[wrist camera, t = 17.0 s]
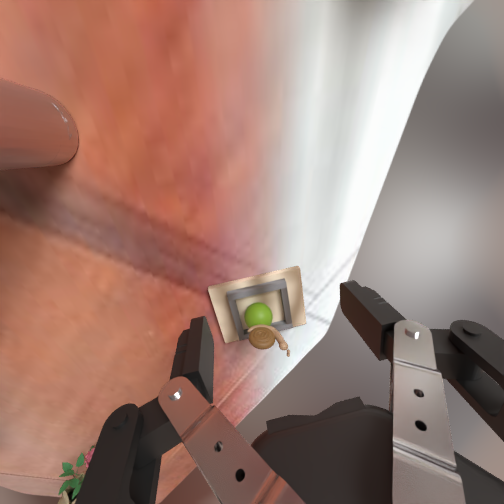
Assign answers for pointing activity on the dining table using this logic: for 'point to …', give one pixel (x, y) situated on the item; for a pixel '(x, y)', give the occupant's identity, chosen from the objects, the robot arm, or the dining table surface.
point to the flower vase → (73, 485)
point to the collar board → (259, 290)
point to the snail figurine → (262, 327)
